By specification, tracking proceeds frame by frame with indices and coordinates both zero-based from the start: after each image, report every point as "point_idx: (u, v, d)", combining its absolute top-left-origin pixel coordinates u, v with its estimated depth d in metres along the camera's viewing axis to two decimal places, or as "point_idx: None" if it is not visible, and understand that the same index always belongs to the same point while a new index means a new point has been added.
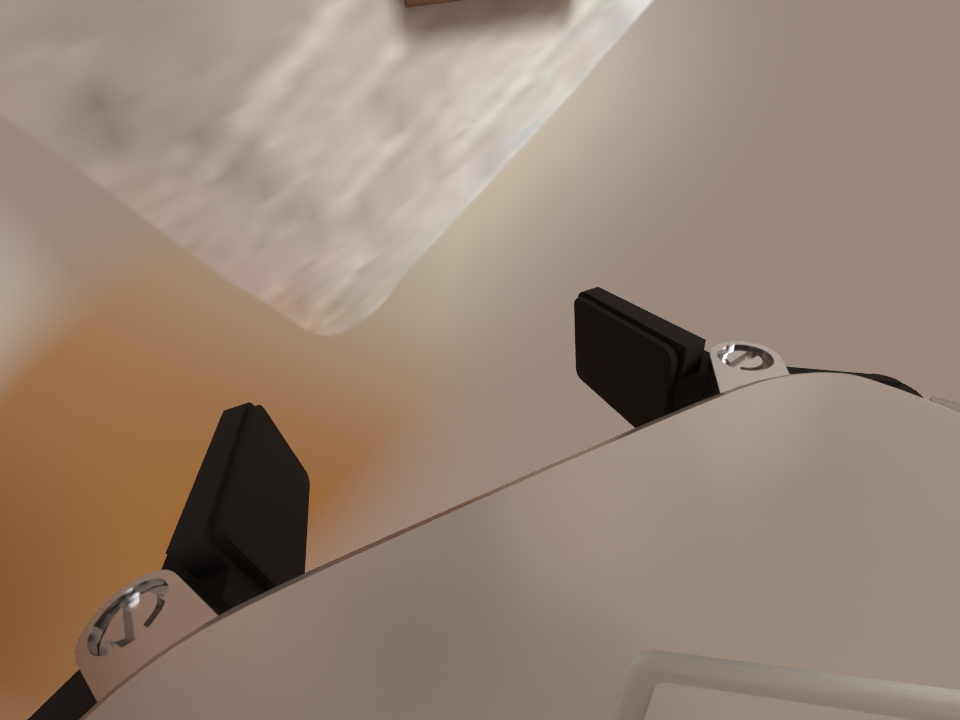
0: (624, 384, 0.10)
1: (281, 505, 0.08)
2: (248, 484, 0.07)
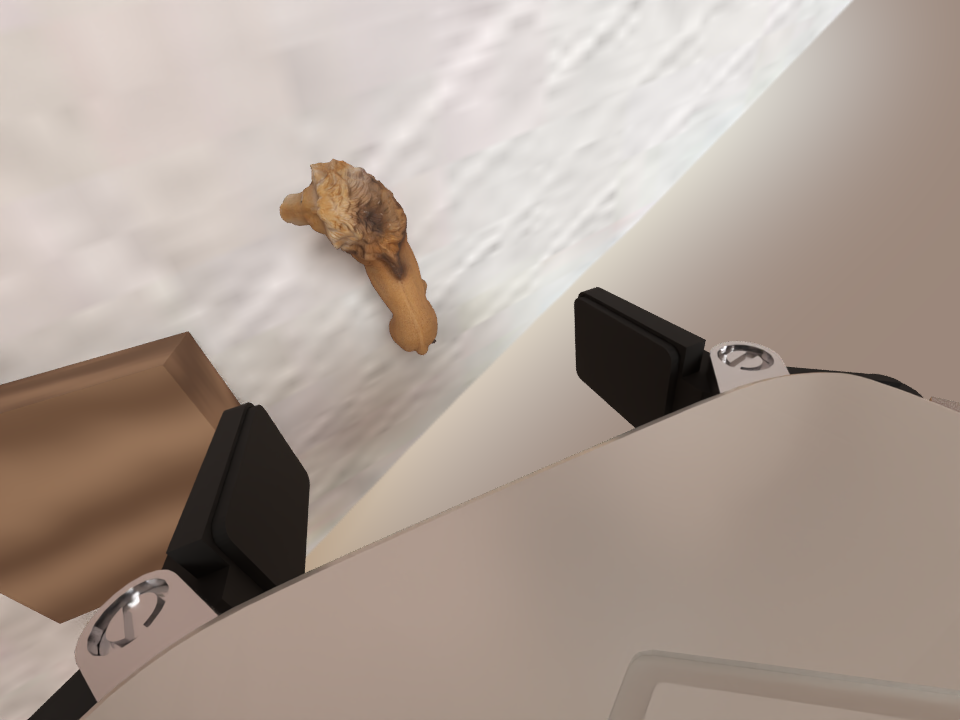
0: (624, 384, 0.10)
1: (281, 505, 0.08)
2: (248, 484, 0.07)
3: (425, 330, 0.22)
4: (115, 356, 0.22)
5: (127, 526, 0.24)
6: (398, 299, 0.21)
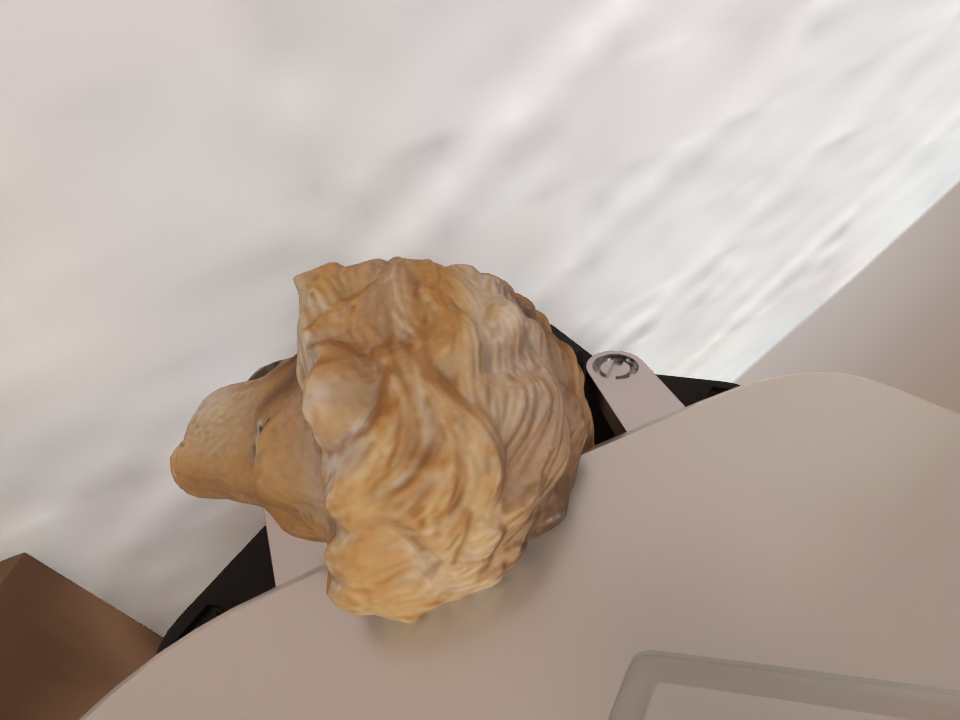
0: None
1: None
2: None
3: None
4: None
5: None
6: None
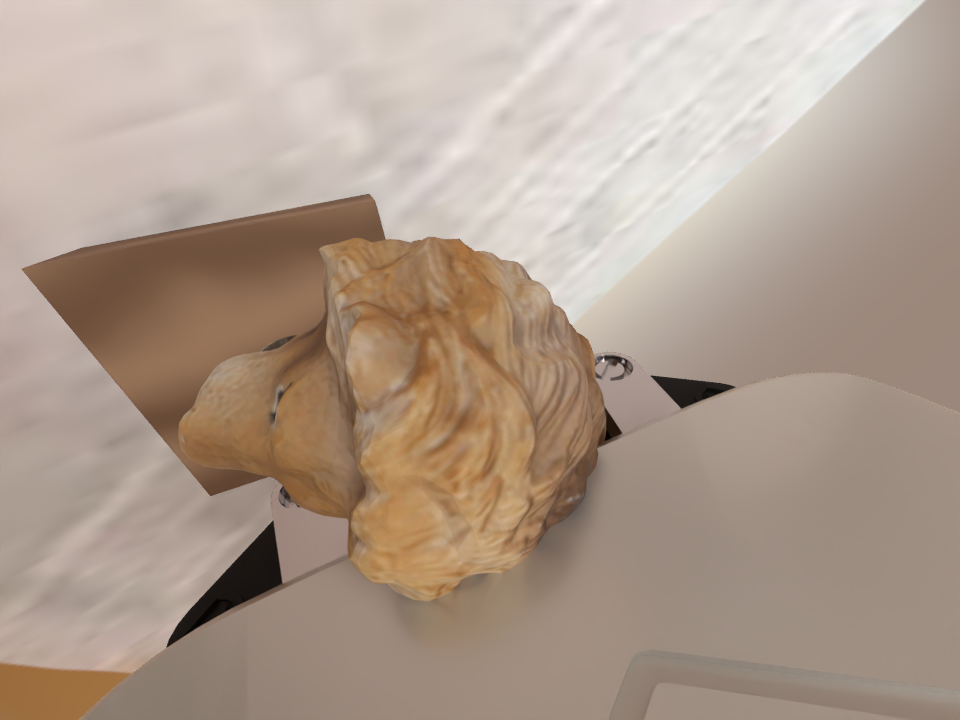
0: None
1: None
2: None
3: None
4: (306, 207, 0.22)
5: None
6: None
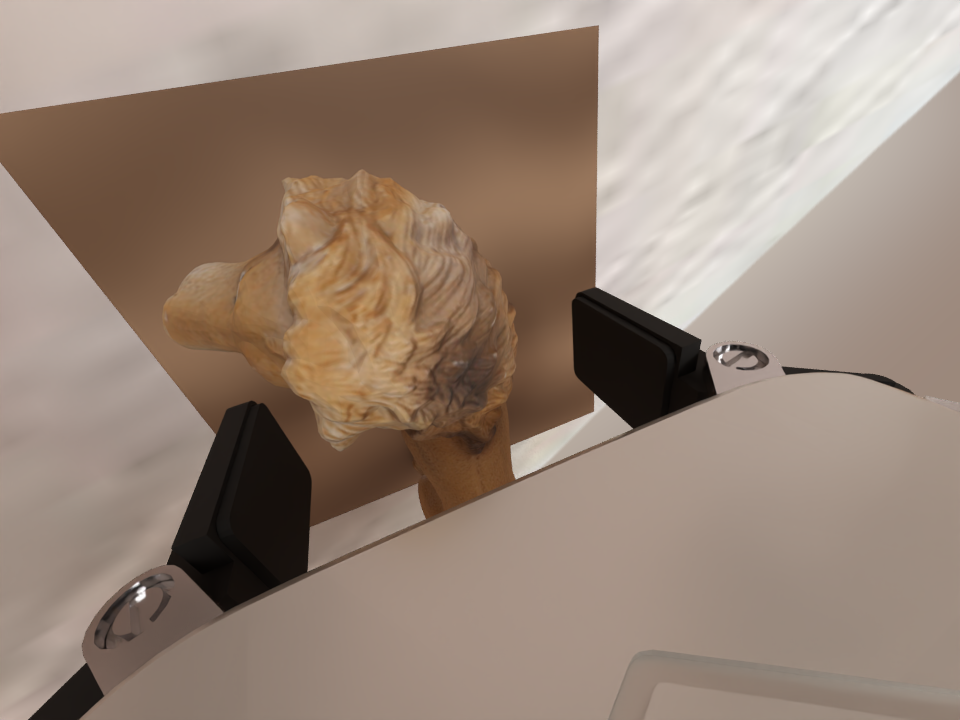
0: (621, 384, 0.10)
1: (284, 502, 0.08)
2: (252, 481, 0.07)
3: None
4: None
5: None
6: (463, 486, 0.09)
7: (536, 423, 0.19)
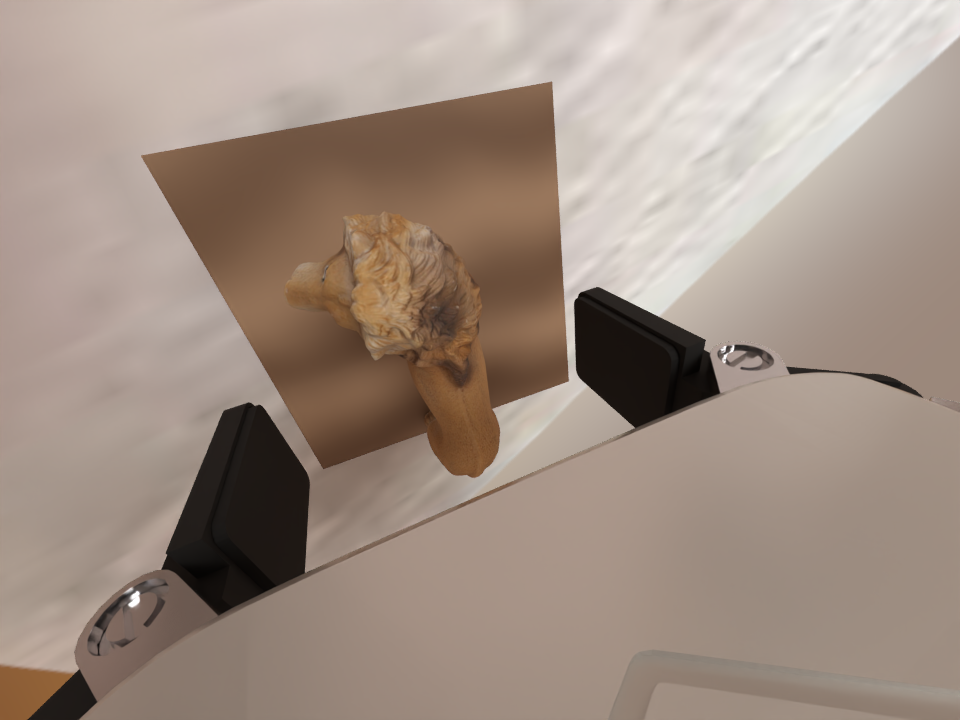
0: (624, 384, 0.10)
1: (281, 505, 0.08)
2: (248, 484, 0.07)
3: (486, 454, 0.15)
4: None
5: None
6: (454, 412, 0.14)
7: (519, 388, 0.23)
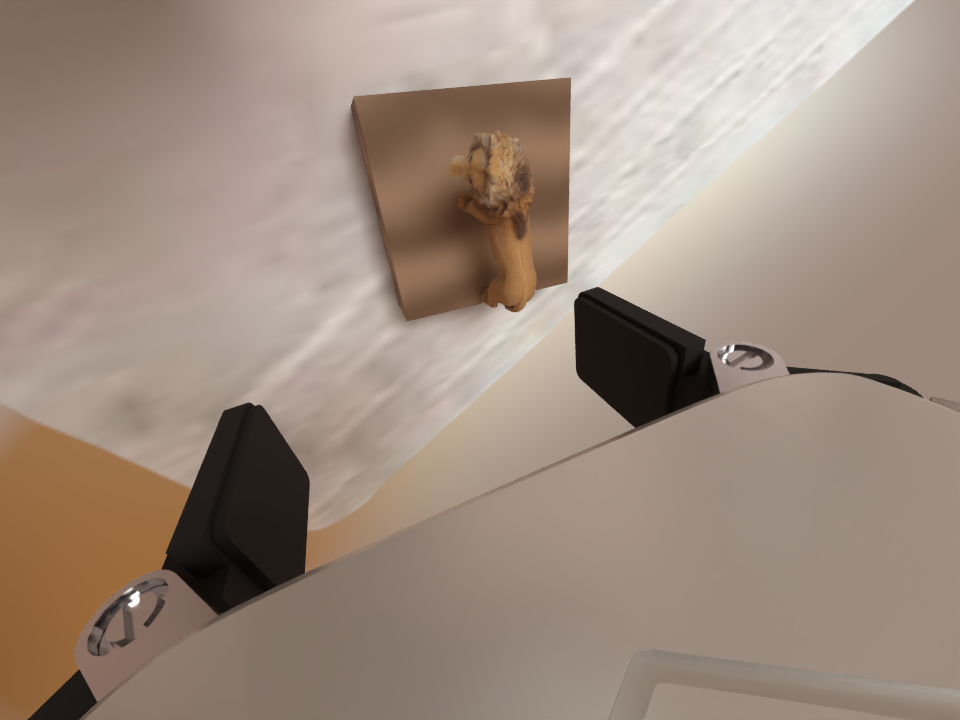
0: (624, 384, 0.10)
1: (281, 505, 0.08)
2: (248, 484, 0.07)
3: (529, 286, 0.26)
4: None
5: (485, 232, 0.30)
6: (514, 256, 0.25)
7: None
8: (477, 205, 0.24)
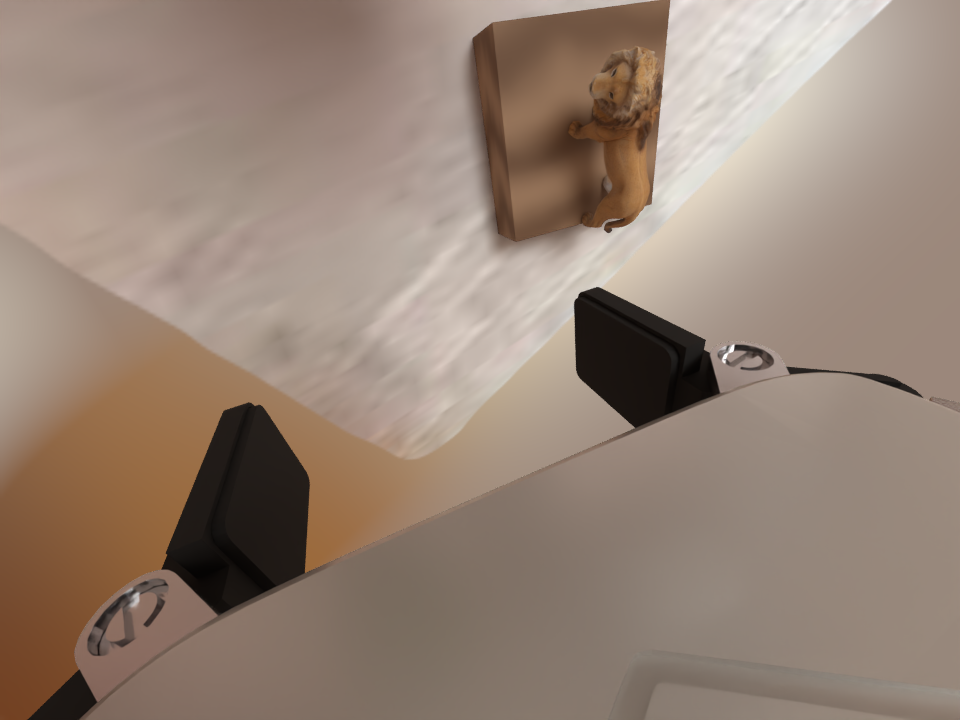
0: (624, 384, 0.10)
1: (281, 505, 0.08)
2: (248, 484, 0.07)
3: (645, 195, 0.30)
4: None
5: (587, 154, 0.33)
6: (634, 167, 0.29)
7: None
8: (605, 122, 0.27)
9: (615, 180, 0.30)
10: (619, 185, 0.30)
